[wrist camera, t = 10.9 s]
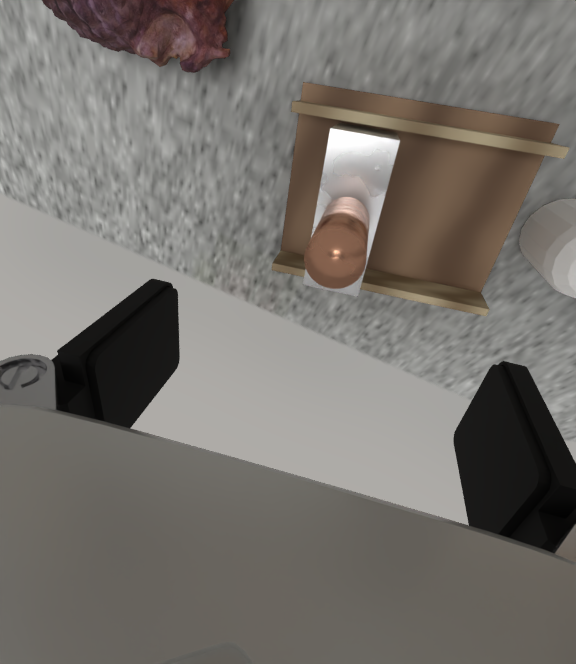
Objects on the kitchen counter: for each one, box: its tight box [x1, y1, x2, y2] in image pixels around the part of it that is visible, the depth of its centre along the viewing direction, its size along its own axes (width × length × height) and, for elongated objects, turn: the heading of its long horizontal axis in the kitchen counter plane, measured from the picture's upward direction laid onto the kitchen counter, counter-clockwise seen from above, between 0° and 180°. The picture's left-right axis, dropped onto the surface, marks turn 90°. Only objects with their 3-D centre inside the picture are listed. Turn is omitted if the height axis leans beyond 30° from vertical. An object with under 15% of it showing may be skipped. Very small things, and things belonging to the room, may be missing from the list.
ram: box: [303, 123, 400, 297], centre depth 24 cm, size 4×10×13 cm, turn 172°
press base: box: [272, 82, 569, 316], centre depth 29 cm, size 17×14×4 cm
